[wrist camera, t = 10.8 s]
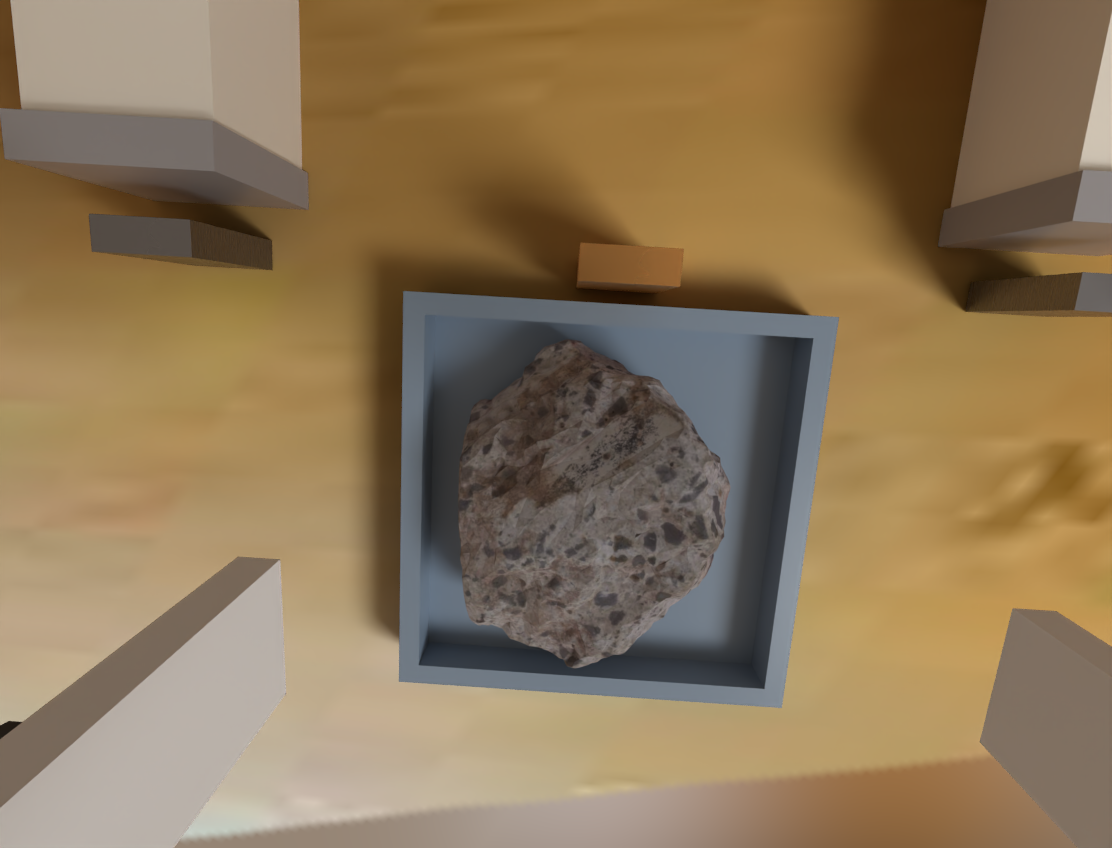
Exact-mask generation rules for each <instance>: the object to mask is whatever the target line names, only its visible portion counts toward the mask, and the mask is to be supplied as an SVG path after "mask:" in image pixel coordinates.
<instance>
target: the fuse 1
mask: <svg viewBox="0 0 1112 848" xmlns="http://www.w3.org/2000/svg"><path fill="white" fill-rule="evenodd" d="M10 1H11V10H12V20H13V30H14V40H15V50H16V60H17V70H18V80H19V89H20V99H21V109H5V108H0V119H1V128H2V138H3V147H4V156H5V159H6V160H10V161H14V162H17V163H21V164H24V165H28V166H31V167H35V168H39V169H42V170H46V171H49V172H53V173H56V174H60V175H64V176H67V177H71V178H74V179H78V180H81V181H85V182H89V183H92V184H96V185H99V186H103V187H107V188H110V189H114V190H117V191H121V192H124V193H128V194H132V195H135V196H139V197H142V198H146V199H149V200H153V201H166V202H184V203H201V204H218V205H235V206H252V207H269V208H286V209H303V210H309V204H308V173H307V172H305V171H303V170H302V140H301V89H300V38H299V0H10Z"/></svg>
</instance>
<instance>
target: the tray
mask: <svg viewBox="0 0 1112 848" xmlns="http://www.w3.org/2000/svg"><path fill="white" fill-rule="evenodd" d="M838 321H839V317H826V316H809V315H793V314H776V313H759V312H743V311H726V310H710V309H693V308H677V307H660V306H643V305H627V304H610V303H594V302H577V301H560V300H544V299H527V298H511V297H494V296H478V295H461V294H444V293H428V292H411V291H403V361H402V452H401V544H400V635H399V682H413V683H427V684H442V685H457V686H471V687H486V688H500V689H515V690H529V691H544V692H558V693H573V694H588V695H602V696H617V697H631V698H646V699H660V700H675V701H689V702H704V703H718V704H733V705H748V706H762V707H777V708H782V702H783V695H784V688H785V682H786V675H787V668H788V661H789V654H790V648H791V641H792V634H793V627H794V620H795V614H796V607H797V600H798V593H799V586H800V580H801V573H802V566H803V559H804V552H805V545H806V539H807V532H808V525H809V518H810V511H811V505H812V498H813V491H814V484H815V477H816V471H817V464H818V457H819V450H820V443H821V437H822V430H823V423H824V416H825V409H826V402H827V396H828V389H829V382H830V375H831V368H832V362H833V355H834V348H835V341H836V334H837V328H838ZM566 339H569V340H579V341H581V342H582V343H583V344H584V345H585V346H587V347H589V348H590V349H591V350H593V351H594V352H596V353H599V354H602V355H605V356H606V357H608V358H610V359H613V360H616V361H618V362H619V363H621V364H623V365H624V367H625V368H626V369H627V370H628V371H629V372H631V373H633V374H635V375H641V376H650V377H653V378H655V379H658V380H660V382H661V383H662V385H663V387H664V388H665V389H666V390H667V391H668V393H669V394H671V395H672V396H673V398H674V400H675V401H676V403H677V405H678V406H679V407H680V408H681V409H682V410H683V411H684V412H685V413H686V414H687V416H688V417H689V418H690V420H691V421H692V423H693V425H694V427H695V429H696V431H697V433H698V435H699V436H700V437H701V439H702V440H703V441H704V443H705V444H706V446H707V447H708V449H709V450H710V451H711V452H713V453H715V454H716V455H718V456H719V457H720V460H721V466H722V468H723V470H724V472H725V474H726V476H727V478H728V480H729V483H730V487H731V488H730V492H729V495H728V498H727V501H726V509H725V520H726V523H725V527H724V538H723V539H722V541H721V542H720V544H719V547H718V549H717V551H716V552H714V559H713V561H712V564H711V567H710V569H709V570H708V573H707V575H706V576H705V577H704V578H703V579H702V581H701V583H700V584H699V586H698V587H696V588H694V589H693V590H691V591H690V592H689V593H688V594H687V595H686V596H684V597H683V598H682V599H681V600H679V601H678V602H677V603H675V604H673V605H672V606H670V608H669V609H668V611H667V613H666V614H665V616H664V617H663V618H662V619H660V620H658V621H656V622H654V623H653V624H652V626H651V628H650V629H649V630H647V631H646V632H645V633H644V634H643V635H642V636H640V637H639V638H638V639H637V640H636V641H635V642H634V643H633V644H632V646H631V647H630V648H629V649H628V650H627V651H626V652H625V653H623V654H621V655H612V656H610V657H607V658H602V659H600V660H599V661H598V662H595V663H591V664H589V665H587V666H583V667H579V668H571V667H568V666H566V664H565V662H564V660H563V659H560V658H558V657H557V656H556V655H554V654H553V653H551V652H549V651H547V650H545V649H542V648H539V647H535V646H528V645H526V644H524V643H521V642H519V641H516V640H513V639H510V638H509V637H508V635H507V634H506V633H505V631H504V630H503V629H502V628H499V627H496V626H494V625H489V626H488V625H480V626H479V625H477V624H475V623H474V622H472V621H471V620H470V618H469V615H468V612H467V609H466V604H465V599H464V593H463V583H462V565H461V561H460V553H461V543H460V535H459V522H458V510H459V508H458V488H459V463H460V457H461V453H462V448H463V441H464V435H465V432H466V428H467V425H468V423H469V420H470V415H471V410H472V408H473V406H474V405H475V404H476V403H477V402H478V401H480V400H482V399H489V400H492V399H493V398H494V397H495V396H496V395H497V394H498V393H500V392H501V391H502V390H503V389H505V388H507V387H508V386H510V385H511V384H512V383H513V382H514V381H515V380H517V379H519V378H521V377H522V376H523V372H524V369H525V367H526V366H527V365H529V364H530V363H531V362H533V361H534V359H535V356H536V354H537V353H538V352H539V351H540V350H542V349H543V348H544V347H545V346H549V345H552V344H555V343H558V342H560V341H563V340H566Z"/></svg>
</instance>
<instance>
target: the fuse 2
mask: <svg viewBox="0 0 1112 848" xmlns="http://www.w3.org/2000/svg"><path fill="white" fill-rule="evenodd" d="M938 247H950V248H968V249H985V250H1002V251H1019V252H1036V253H1053V254H1070V255H1087V256H1103V255H1112V0H987V3H986V9H985V15H984V20H983V26H982V32H981V37H980V43H979V49H978V54H977V60H976V66H975V72H974V77H973V83H972V89H971V94H970V100H969V106H968V111H967V117H966V123H965V128H964V134H963V140H962V146H961V151H960V157H959V163H958V168H957V174H956V180H955V185H954V191H953V197H952V202H951V208H949V209H945V210H944V214H943V219H942V225H941V231H940V237H939V242H938Z"/></svg>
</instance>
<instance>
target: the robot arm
mask: <svg viewBox="0 0 1112 848" xmlns="http://www.w3.org/2000/svg"><path fill="white" fill-rule="evenodd" d="M285 694H286V681H285V658H284V636H283V613H282V591H281V568H280V559H265V558H250V557H237V558H236V559H234V560H233V561H232V562H231V563H229V564H228V565H227V566H225V567H224V568H223V569H221V570H220V571H219V572H218V573H216V574H215V575H214V576H212V577H211V578H210V579H208V580H207V581H206V582H205V583H203V584H202V585H201V586H199V587H198V588H197V589H195V590H194V591H193V592H191V593H190V594H189V595H188V596H186V597H185V598H184V599H182V600H181V601H180V602H178V603H177V604H176V605H175V606H173V607H172V608H171V609H169V610H168V611H167V612H165V613H164V614H163V615H162V616H160V617H159V618H158V619H156V620H155V621H154V622H152V623H151V624H150V625H148V626H147V627H146V628H145V629H143V630H142V631H141V632H139V633H138V634H137V635H135V636H134V637H133V638H132V639H130V640H129V641H128V642H126V643H125V644H124V645H122V646H121V647H120V648H119V649H117V650H116V651H115V652H113V653H112V654H111V655H109V656H108V657H107V658H105V659H104V660H103V661H102V662H100V663H99V664H98V665H96V666H95V667H94V668H92V669H91V670H90V671H89V672H87V673H86V674H85V675H83V676H82V677H81V678H79V679H78V680H77V681H76V682H74V683H73V684H72V685H70V686H69V687H68V688H66V689H65V690H64V691H62V692H61V693H60V694H59V695H57V696H56V697H55V698H53V699H52V700H51V701H49V702H48V703H47V704H46V705H44V706H43V707H42V708H40V709H39V710H38V711H36V712H35V713H34V714H33V715H31V716H30V717H29V718H27V719H26V720H25V721H23V722H14V721H8V722H6V723H4V724H2V725H0V848H174V847H175V846H176V844H177V843H178V842H179V840H180V839H181V837H182V836H183V835H184V833H185V832H186V831H187V829H188V828H189V826H190V825H191V824H192V822H193V821H194V820H195V818H196V817H197V815H198V814H199V813H200V811H201V810H202V809H203V807H204V806H205V804H206V803H207V802H208V800H209V799H210V797H211V796H212V795H213V793H214V792H215V791H216V789H217V788H218V786H219V785H220V784H221V782H222V781H223V780H224V778H225V777H226V775H227V774H228V773H229V771H230V770H231V769H232V767H233V766H234V764H235V763H236V762H237V760H238V759H239V758H240V756H241V755H242V753H243V752H244V751H245V749H246V748H247V747H248V745H249V744H250V742H251V741H252V740H253V738H254V737H255V736H256V734H257V733H258V731H259V730H260V729H261V727H262V726H263V725H264V723H265V722H266V720H267V719H268V718H269V716H270V715H271V714H272V712H273V711H274V709H275V708H276V707H277V705H278V704H279V703H280V701H281V700H282V698H283V697H284V696H285ZM980 743H981V744H982V745H983V746H984V747H985V748H986V749H987V750H988V751H989V753H990V754H991V755H992V756H993V757H994V758H995V759H996V760H997V761H998V762H999V763H1000V764H1001V765H1002V767H1003V768H1004V769H1005V770H1006V771H1007V772H1008V773H1009V774H1010V775H1011V776H1012V777H1013V778H1014V779H1015V781H1016V782H1017V783H1018V784H1019V785H1020V786H1021V787H1022V788H1023V789H1024V790H1025V791H1026V792H1027V793H1028V795H1029V796H1030V797H1031V798H1032V799H1033V800H1034V801H1035V802H1036V803H1037V804H1038V805H1039V806H1040V807H1041V808H1042V810H1043V811H1044V812H1045V813H1046V814H1047V815H1048V816H1049V817H1050V818H1051V820H1052V821H1053V822H1055V824H1056V825H1057V826H1058V827H1059V828H1060V829H1061V830H1062V831H1063V832H1064V834H1065V835H1066V836H1067V837H1068V838H1069V839H1070V840H1071V841H1072V842H1073V843H1074V844H1075V845H1076V847H1078V848H1112V647H1111V646H1110V645H1108V644H1107V643H1105V642H1103V641H1102V640H1100V639H1099V638H1097V637H1096V636H1094V635H1092V634H1091V633H1089V632H1088V631H1086V630H1085V629H1083V628H1082V627H1080V626H1078V625H1077V624H1075V623H1074V622H1072V621H1071V620H1069V619H1068V618H1066V617H1064V616H1063V615H1061V614H1060V613H1058V612H1057V611H1045V610H1030V609H1015V608H1013V609H1012V613H1011V617H1010V621H1009V625H1008V629H1007V634H1006V638H1005V642H1004V646H1003V650H1002V654H1001V658H1000V662H999V666H998V670H997V674H996V678H995V682H994V686H993V690H992V694H991V698H990V702H989V706H988V711H987V715H986V719H985V723H984V727H983V731H982V735H981V739H980Z"/></svg>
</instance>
